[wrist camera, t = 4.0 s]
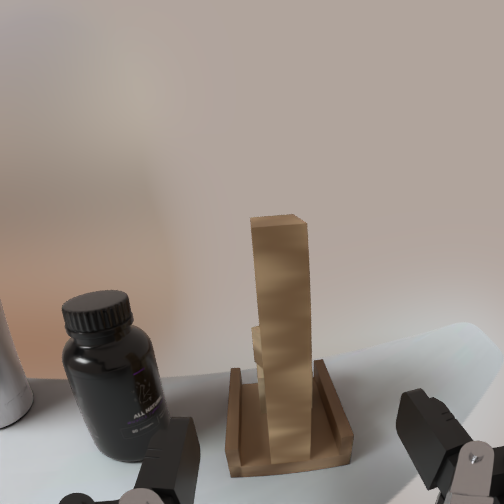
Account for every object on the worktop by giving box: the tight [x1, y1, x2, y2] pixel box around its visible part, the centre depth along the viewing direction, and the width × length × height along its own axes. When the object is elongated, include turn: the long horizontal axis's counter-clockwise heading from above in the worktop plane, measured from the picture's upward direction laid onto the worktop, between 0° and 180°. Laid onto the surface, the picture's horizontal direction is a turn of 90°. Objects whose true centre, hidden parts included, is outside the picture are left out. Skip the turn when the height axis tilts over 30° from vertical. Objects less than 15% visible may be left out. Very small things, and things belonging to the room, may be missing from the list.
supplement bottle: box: [62, 290, 171, 462], centre depth 21 cm, size 7×7×12 cm
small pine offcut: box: [251, 326, 263, 369], centre depth 24 cm, size 3×3×3 cm
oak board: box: [250, 214, 312, 464], centre depth 18 cm, size 2×4×15 cm, turn 1°
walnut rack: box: [225, 359, 354, 477], centre depth 22 cm, size 8×10×3 cm
